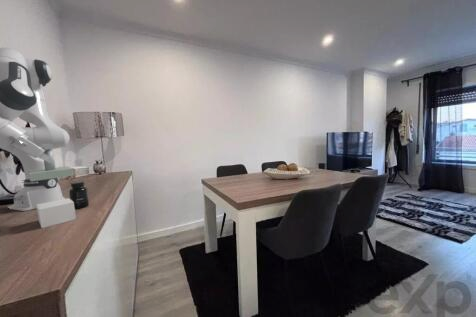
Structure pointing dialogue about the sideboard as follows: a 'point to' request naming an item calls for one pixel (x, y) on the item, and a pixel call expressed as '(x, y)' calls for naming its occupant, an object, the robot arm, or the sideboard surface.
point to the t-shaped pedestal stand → (49, 168)
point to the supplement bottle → (79, 195)
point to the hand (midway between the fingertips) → (51, 161)
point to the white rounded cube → (55, 212)
